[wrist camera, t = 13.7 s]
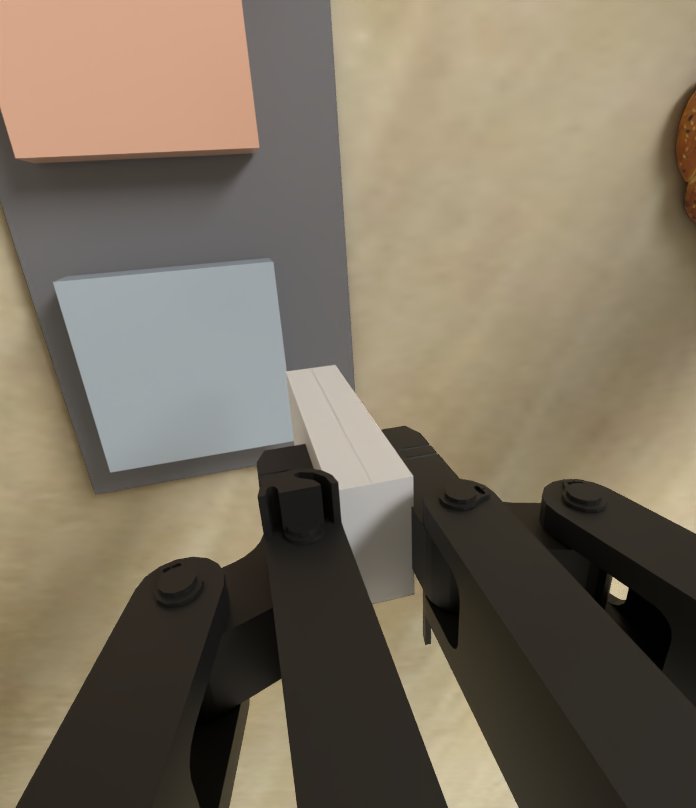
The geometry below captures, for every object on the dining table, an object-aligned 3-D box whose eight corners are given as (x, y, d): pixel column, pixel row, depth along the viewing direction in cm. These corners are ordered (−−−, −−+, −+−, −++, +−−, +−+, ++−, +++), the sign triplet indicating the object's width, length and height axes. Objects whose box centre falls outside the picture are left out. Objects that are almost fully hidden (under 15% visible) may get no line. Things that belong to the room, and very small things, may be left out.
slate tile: (268, 257, 21) (68, 275, 19) (273, 261, 19) (52, 282, 17) (289, 424, 24) (118, 451, 22) (295, 440, 22) (110, 472, 20)
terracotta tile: (222, -115, 16) (-50, -133, 14) (222, -156, 14) (-88, -182, 12) (255, 153, 19) (35, 163, 17) (259, 147, 17) (15, 158, 16)
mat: (-127, -217, 14) (-141, -235, 13) (314, -176, 16) (318, -189, 16) (97, 488, 23) (95, 494, 22) (355, 442, 26) (358, 447, 25)
